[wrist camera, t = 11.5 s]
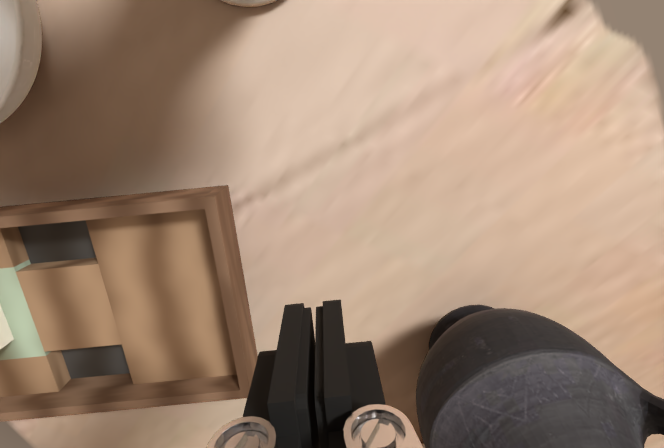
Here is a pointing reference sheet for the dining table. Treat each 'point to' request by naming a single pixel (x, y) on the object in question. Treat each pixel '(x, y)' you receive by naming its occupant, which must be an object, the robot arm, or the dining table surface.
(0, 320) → the block
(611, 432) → the pitcher
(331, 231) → the dining table surface
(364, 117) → the dining table surface
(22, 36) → the serving bowl
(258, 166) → the dining table surface
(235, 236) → the trap box
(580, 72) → the dining table surface
